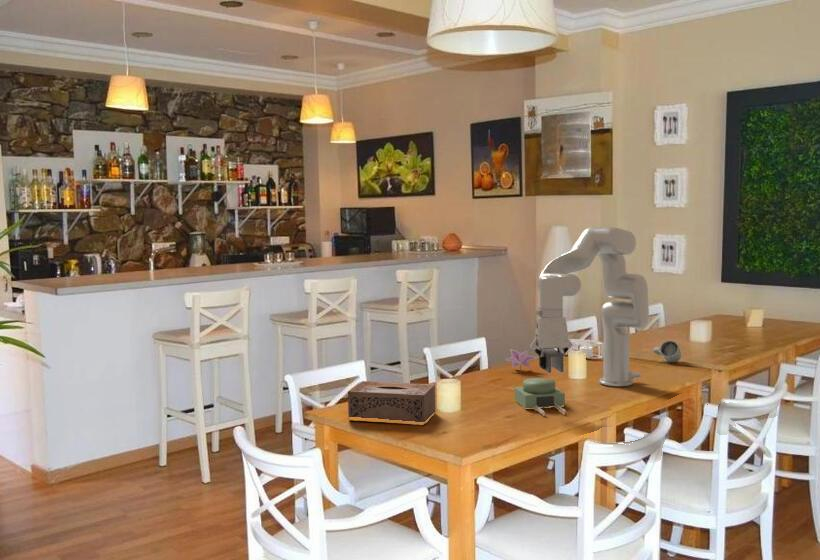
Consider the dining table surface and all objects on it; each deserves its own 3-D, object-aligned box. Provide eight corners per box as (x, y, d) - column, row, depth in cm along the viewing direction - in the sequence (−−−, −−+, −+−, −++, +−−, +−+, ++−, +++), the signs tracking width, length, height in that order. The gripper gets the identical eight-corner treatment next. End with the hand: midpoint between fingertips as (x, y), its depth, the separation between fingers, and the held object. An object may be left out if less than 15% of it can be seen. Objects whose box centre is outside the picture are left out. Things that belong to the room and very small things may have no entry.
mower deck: (552, 398, 271) (552, 376, 270) (574, 414, 250) (574, 390, 249) (514, 401, 268) (514, 378, 268) (533, 417, 248) (533, 393, 247)
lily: (542, 372, 313) (538, 349, 317) (525, 368, 305) (522, 345, 308) (518, 378, 321) (515, 356, 324) (501, 374, 313) (499, 352, 316)
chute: (553, 366, 256) (553, 348, 255) (563, 371, 247) (563, 353, 246) (539, 366, 255) (539, 349, 254) (548, 372, 246) (548, 354, 245)
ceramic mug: (676, 366, 325) (686, 352, 326) (671, 359, 319) (681, 345, 319) (654, 355, 332) (664, 340, 332) (650, 348, 326) (660, 333, 326)
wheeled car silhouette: (555, 355, 346) (555, 340, 345) (571, 352, 352) (571, 337, 352) (590, 362, 330) (590, 346, 329) (606, 359, 336) (606, 342, 336)
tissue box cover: (348, 421, 249) (347, 391, 248) (363, 409, 263) (362, 381, 262) (424, 425, 242) (424, 395, 241) (435, 413, 256) (434, 384, 255)
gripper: (530, 316, 244) (530, 371, 246) (580, 313, 247) (580, 368, 249) (522, 312, 251) (522, 366, 253) (571, 310, 254) (571, 364, 256)
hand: (551, 367), depth 251 cm, fingers closed on chute, 5 cm apart
